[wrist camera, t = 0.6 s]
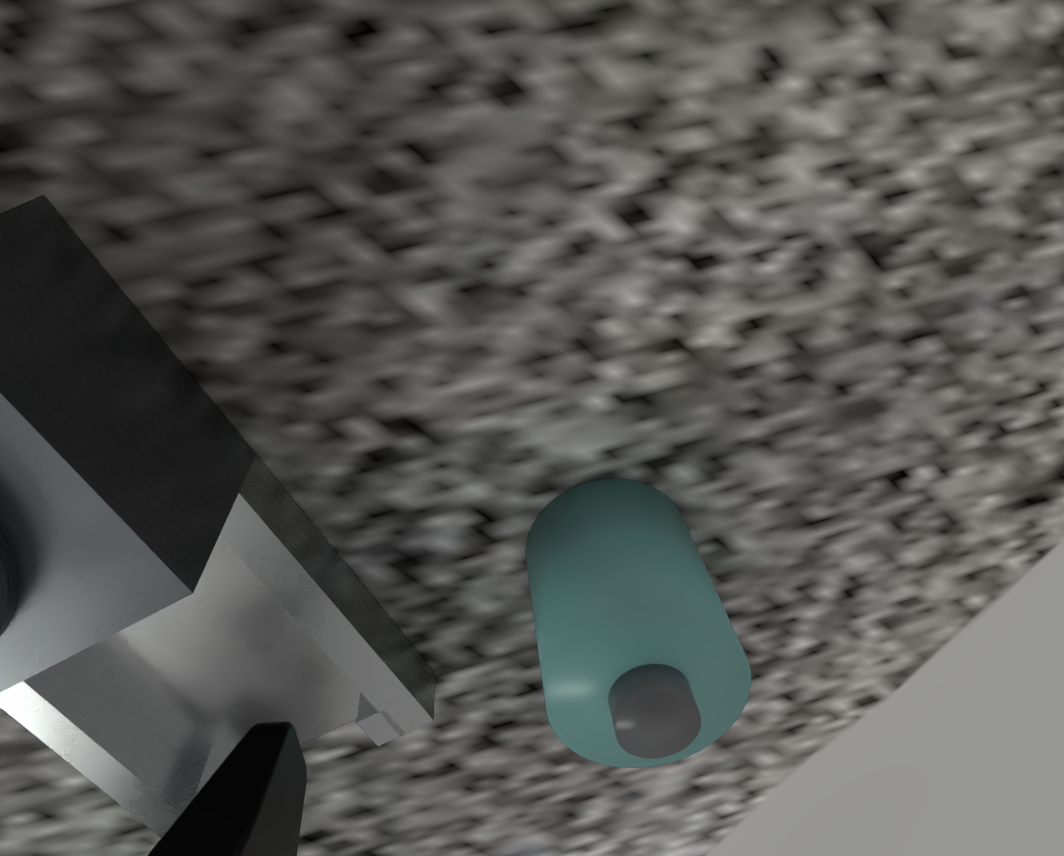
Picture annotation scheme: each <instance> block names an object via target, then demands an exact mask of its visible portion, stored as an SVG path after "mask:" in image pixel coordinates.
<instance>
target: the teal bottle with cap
mask: <svg viewBox="0 0 1064 856" xmlns="http://www.w3.org/2000/svg"><path fill="white" fill-rule="evenodd" d="M526 564H527V571H528V579H529V586H530V593H531V601H532V608H533V615H534V623H535V630H536V638H537V645H538V652H539V660H540V667H541V674H542V682H543V689H544V697H545V704H546V711H547V715H548V720H549V722H550V724H551V727H552V729H553V730H554V732H555V734H556V735H557V737H558V738H559V739H560V740H561V741H562V742H563V743H564V744H565V745H566V746H567V747H568V748H569V749H571V750H572V751H573V752H575V753H577V754H578V755H580V756H582V757H584V758H586V759H588V760H591V761H593V762H597V763H600V764H603V765H608V766H613V767H623V768H643V767H653V766H658V765H663V764H667V763H671V762H674V761H678V760H680V759H683V758H686V757H688V756H690V755H692V754H694V753H696V752H699V751H700V750H702V749H704V748H705V747H707V746H709V745H710V744H712V743H713V742H714V741H716V740H717V739H718V738H720V737H721V736H722V735H723V734H724V733H725V732H726V731H727V730H728V729H729V728H730V727H731V726H732V725H733V723H734V722H735V721H736V720H737V718H738V717H739V715H740V714H741V712H742V711H743V708H744V706H745V704H746V702H747V699H748V696H749V693H750V687H751V670H750V666H749V662H748V659H747V657H746V655H745V652H744V650H743V648H742V646H741V644H740V642H739V639H738V637H737V635H736V633H735V631H734V628H733V626H732V624H731V622H730V620H729V618H728V615H727V613H726V611H725V609H724V607H723V604H722V602H721V600H720V598H719V596H718V594H717V591H716V589H715V587H714V585H713V583H712V580H711V578H710V576H709V574H708V572H707V570H706V567H705V565H704V563H703V561H702V559H701V556H700V554H699V552H698V550H697V548H696V546H695V543H694V541H693V539H692V537H691V535H690V532H689V530H688V528H687V526H686V524H685V522H684V519H683V517H682V515H681V513H680V511H679V510H678V508H677V507H676V505H675V504H674V503H673V502H672V501H671V500H670V499H669V498H668V497H667V496H666V495H665V494H663V493H662V492H660V491H659V490H657V489H656V488H654V487H652V486H649V485H647V484H645V483H641V482H638V481H634V480H628V479H615V478H613V479H601V480H596V481H591V482H587V483H584V484H581V485H578V486H576V487H574V488H571V489H569V490H568V491H566V492H564V493H562V494H561V495H559V496H558V497H557V498H555V499H554V500H553V501H551V502H550V503H549V504H548V505H547V506H546V507H545V508H544V509H543V510H542V512H541V513H540V514H539V515H538V517H537V518H536V520H535V522H534V523H533V525H532V527H531V530H530V532H529V535H528V538H527V542H526Z"/></svg>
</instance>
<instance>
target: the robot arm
mask: <svg viewBox="0 0 1064 856" xmlns="http://www.w3.org/2000/svg"><path fill="white" fill-rule="evenodd" d="M306 778H307V772H306V764H305V760H304V757H303V753H302V750H301V747H300V743H299V740H298V737H297V733H296V730H295V728H294V726H293V724H291V723H290V722H287V721H282V722H260V723H257V724H255V725H253V726H252V727H251V728H250V729H249V730H248V731H247V733H246V734H245V735H244V736H243V737H242V739H241V740H240V741H239V742H238V744H237V745H236V746H235V747H234V749H233V750H232V751H231V752H230V754H229V755H228V756H227V757H226V759H225V760H224V761H223V762H222V764H221V765H220V766H219V767H218V769H217V770H216V771H215V772H214V774H213V775H212V776H211V777H210V779H209V780H208V781H207V782H206V783H205V785H204V786H203V787H202V788H201V790H200V791H199V792H198V793H197V795H196V796H195V797H194V798H193V800H192V801H191V802H190V803H189V805H188V806H187V807H186V808H185V810H184V811H183V812H182V813H181V815H180V816H179V817H178V818H177V820H176V821H175V822H174V823H173V825H172V826H171V827H170V828H169V829H168V831H167V832H166V833H165V834H164V836H163V837H162V838H161V839H160V841H159V842H158V843H157V844H156V846H155V847H154V848H153V849H152V851H151V852H150V853H149V854H148V856H297V848H298V841H299V834H300V826H301V819H302V812H303V804H304V797H305V790H306Z"/></svg>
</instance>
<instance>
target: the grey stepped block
mask: <svg viewBox="0 0 1064 856" xmlns="http://www.w3.org/2000/svg"><path fill="white" fill-rule="evenodd" d="M434 699H435V672H434V671H433V670H432V668H431V667H430V666H429V665H428V664H427V662H426V661H425V660H424V659H423V658H422V656H421V655H420V654H419V653H418V651H417V650H416V649H415V648H414V647H413V645H412V644H411V643H410V642H409V640H408V639H407V638H406V637H405V636H404V634H403V633H402V632H401V631H400V629H399V628H398V627H397V626H396V625H395V623H394V622H393V621H392V620H391V618H390V617H389V616H388V615H387V614H386V612H385V611H384V610H383V609H382V607H381V606H380V605H379V604H378V603H377V601H376V600H375V599H374V598H373V597H372V595H371V594H370V593H369V592H368V590H367V589H366V588H365V587H364V586H363V584H362V583H361V582H360V581H359V579H358V578H357V577H356V576H355V575H354V573H353V572H352V571H351V570H350V568H349V567H348V566H347V565H346V564H345V562H344V561H343V560H342V559H341V557H340V556H339V555H338V554H337V553H336V551H335V550H334V549H333V548H332V546H331V545H330V544H329V543H328V542H327V540H326V539H325V538H324V537H323V536H322V534H321V533H320V532H319V531H318V529H317V528H316V527H315V526H314V525H313V523H312V522H311V521H310V520H309V518H308V517H307V516H306V515H305V514H304V512H303V511H302V510H301V509H300V507H299V506H298V505H297V504H296V503H295V501H294V500H293V499H292V498H291V496H290V495H289V494H288V493H287V492H286V490H285V489H284V488H283V487H282V485H281V484H280V483H279V482H278V481H277V479H276V478H275V477H274V476H273V475H272V473H271V472H270V471H269V470H268V468H267V467H266V466H265V465H264V464H263V462H262V461H261V460H260V459H259V457H258V456H257V455H256V454H255V453H254V451H253V450H252V449H251V448H250V446H249V445H248V444H247V443H246V442H245V440H244V439H243V438H242V437H241V435H240V434H239V433H238V432H237V431H236V429H235V428H234V427H233V426H232V425H231V423H230V422H229V421H228V420H227V418H226V417H225V416H224V415H223V414H222V412H221V411H220V410H219V409H218V407H217V406H216V405H215V404H214V403H213V401H212V400H211V399H210V398H209V396H208V395H207V394H206V393H205V392H204V390H203V389H202V388H201V387H200V385H199V384H198V383H197V382H196V381H195V379H194V378H193V377H192V376H191V374H190V373H189V372H188V371H187V370H186V368H185V367H184V366H183V365H182V364H181V362H180V361H179V360H178V359H177V357H176V356H175V355H174V354H173V353H172V351H171V350H170V349H169V348H168V346H167V345H166V344H165V343H164V342H163V340H162V339H161V338H160V337H159V335H158V334H157V333H156V332H155V331H154V329H153V328H152V327H151V326H150V324H149V323H148V322H147V321H146V320H145V318H144V317H143V316H142V315H141V313H140V312H139V311H138V310H137V309H136V307H135V306H134V305H133V304H132V303H131V301H130V300H129V299H128V298H127V296H126V295H125V294H124V293H123V292H122V290H121V289H120V288H119V287H118V285H117V284H116V283H115V282H114V281H113V279H112V278H111V277H110V276H109V274H108V273H107V272H106V271H105V270H104V268H103V267H102V266H101V265H100V263H99V262H98V261H97V260H96V259H95V257H94V256H93V255H92V254H91V252H90V251H89V250H88V249H87V248H86V246H85V245H84V244H83V243H82V242H81V240H80V239H79V238H78V237H77V235H76V234H75V233H74V232H73V231H72V229H71V228H70V227H69V226H68V224H67V223H66V222H65V221H64V220H63V218H62V217H61V216H60V215H59V213H58V212H57V211H56V210H55V209H54V207H53V206H52V205H51V204H50V202H49V201H48V200H47V199H46V198H45V196H44V195H42V196H40V197H37V198H35V199H33V200H30V201H28V202H26V203H24V204H21V205H19V206H17V207H14V208H12V209H10V210H8V211H5V212H3V213H1V214H0V707H1V708H2V709H3V710H5V711H6V712H7V713H8V714H10V715H11V716H12V717H13V718H14V719H16V720H17V721H18V722H19V723H21V724H22V725H23V726H24V727H26V728H27V729H28V730H29V731H30V732H32V733H33V734H34V735H35V736H37V737H38V738H39V739H40V740H41V741H43V742H44V743H45V744H46V745H48V746H49V747H50V748H51V749H53V750H54V751H55V752H56V753H57V754H59V755H60V756H61V757H62V758H64V759H65V760H66V761H67V762H69V763H70V764H71V765H72V766H73V767H75V768H76V769H77V770H78V771H80V772H81V773H82V774H83V775H85V776H86V777H87V778H88V779H89V780H91V781H92V782H93V783H94V784H96V785H97V786H98V787H99V788H101V789H102V790H103V791H104V792H105V793H107V794H108V795H109V796H110V797H112V798H113V799H114V800H115V801H116V802H118V803H119V804H120V805H121V806H123V807H124V808H125V809H126V810H128V811H129V812H130V813H131V814H132V815H134V816H135V817H136V818H137V819H139V820H140V821H141V822H142V823H144V824H145V825H146V826H147V827H148V828H150V829H151V830H152V831H153V832H155V833H156V834H157V835H158V836H160V837H161V838H162V837H163V836H164V834H165V833H166V832H167V831H168V829H169V828H170V827H171V826H172V825H173V823H174V822H175V821H176V820H177V818H178V817H179V816H180V815H181V813H182V812H183V811H184V810H185V808H186V807H187V806H188V805H189V803H190V802H191V801H192V800H193V798H194V797H195V796H196V795H197V793H198V792H199V791H200V790H201V788H202V787H203V786H204V785H205V783H206V782H207V781H208V780H209V779H210V777H211V776H212V775H213V774H214V772H215V771H216V770H217V769H218V767H219V766H220V765H221V764H222V762H223V761H224V760H225V759H226V757H227V756H228V755H229V754H230V752H231V751H232V750H233V749H234V747H235V746H236V745H237V744H238V742H239V741H240V740H241V739H242V737H243V736H244V735H245V734H246V733H247V731H248V730H249V729H250V728H251V727H252V726H253V725H255V724H257V723H260V722H282V721H287V722H290V723H291V724H293V726H294V728H295V730H296V733H297V737H298V740H299V743H300V745H302V744H304V743H306V742H308V741H310V740H312V739H315V738H317V737H319V736H321V735H323V734H325V733H327V732H330V731H332V730H334V729H336V728H338V727H340V726H342V725H345V724H347V723H349V722H351V721H353V720H355V719H357V721H356V723H357V724H358V725H359V726H360V727H361V728H362V730H363V731H364V732H365V733H366V734H367V735H368V736H369V737H370V738H371V739H372V740H373V741H374V743H375V744H376V745H377V746H380V745H382V744H384V743H386V742H389V741H391V740H393V739H395V738H397V737H399V736H402V735H404V734H406V733H408V732H410V731H412V730H415V729H417V728H419V727H421V726H423V725H426V724H428V723H430V722H432V721H434Z"/></svg>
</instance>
